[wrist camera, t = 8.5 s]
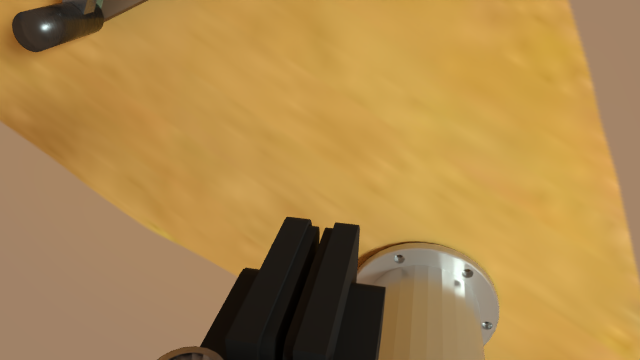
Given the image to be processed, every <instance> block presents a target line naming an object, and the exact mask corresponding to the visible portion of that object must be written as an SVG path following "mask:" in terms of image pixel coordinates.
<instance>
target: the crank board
mask: <svg viewBox="0 0 640 360" xmlns="http://www.w3.org/2000/svg"><path fill="white" fill-rule="evenodd" d="M146 1H148V0H97V2H96V3H97V4H98V5H99V7H100V8H101V10H102V12H103V16H104V22H105V21H107V20H109V19H111V18H113V17H115V16H117V15H119V14H121V13H123V12H125V11H127V10H129V9H131V8H133V7H135V6H137V5H139V4H141V3H144V2H146Z"/></svg>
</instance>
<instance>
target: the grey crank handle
mask: <svg viewBox="0 0 640 360" xmlns="http://www.w3.org/2000/svg"><path fill="white" fill-rule="evenodd" d="M96 2H97V0H62V3H58V4H53V5H49V6H45V7H41V8H37V9H32V10H28V11H24V12H20V13H18V14H17V15H16V16H15V17H14V19H13V23H12V28H13V33H14V35H15V37H16V39H17V41H18V42H19V43H20V44H21V45H22V46H23V47H24V48H26V49H27V50H29V51H32V52H40V51H43V50H46V49H48V48H51V47H54V46H57V45H60V44H63V43H66V42H69V41H72V40H75V39H77V38H80V37H83V36H86V35H89V34H92V33H95V32H97V31H99V30H100V29H101V28H102V26H103V23H104V16H103V12H102V10H101V8H100V7H99V5H98V4H97V3H96Z"/></svg>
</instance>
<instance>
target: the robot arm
mask: <svg viewBox="0 0 640 360" xmlns="http://www.w3.org/2000/svg"><path fill="white" fill-rule="evenodd" d="M359 232H360V227H359V225H353V224H344V223H335V225H334V227H333V228H325V230H324V233H323V235H322V238H321V241H320V244H319V227H317V226H312V223H311V220H310V219H302V218H294V217H286V219H285V220H284V222H283V224H282V226H281V228H280V230H279V232H278V234H277V236H276V238H275V240H274V242H273V244H272V246H271V248H270V250H269V252H268V254H267V256H266V258H265V260H264V262H263V264H262V266H261V268H260V270H258V269H251V268H245V269H243V270H242V272H241V273H240V275H239V277H238V278H237V280H236V282H235V284H234V286H233V288H232V289H231V291H230V293H229V295H228V297H227V298H226V300H225V303H224V304H223V306H222V308H221V309H220V311H219V313H218V315H217V317H216V318H215V320H214V322H213V324H212V326H211V328H210V330H209V331H208V333H207V335H206V337H205V339H204V340H203V342H202V344H201V346H200V347H196V346H194V347H183V348H180V349H176V350H173V351H171V352H169V353H167V354H165V355H163V356H161V357H160V358H159V359H158V360H485V355H484V345H485V344H486V343H487V342H488V341H489V340H490V338H491V337H492V335H493V333H494V332H495V330H496V327H497V323H498V320H499V303H498V297H497V293H496V290H495V287H494V284H493V283H492V281H491V279H490V278H489V276H488V275H487V273H486V272H485V271H484V270H483V269H482V268H481V267H480V266H479V265H478V264H477V263H476V262H474V261H473V260H472V259H470V258H469V257H467V256H466V255H464V254H462V253H460V252H458V251H456V250H454V249H451V248H448V247H444V246H441V245H437V244H429V243H405V244H400V245H395V246H392V247H389V248H387V249H384V250H381V251H379V252H378V253H376V254H375V255H373V256H371V257H370V258H369V259H367V260H366V261H365V262H364V263H363V264H362V265H361V266H360V268H359V269H358V271H357V267H358V250H359Z"/></svg>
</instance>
